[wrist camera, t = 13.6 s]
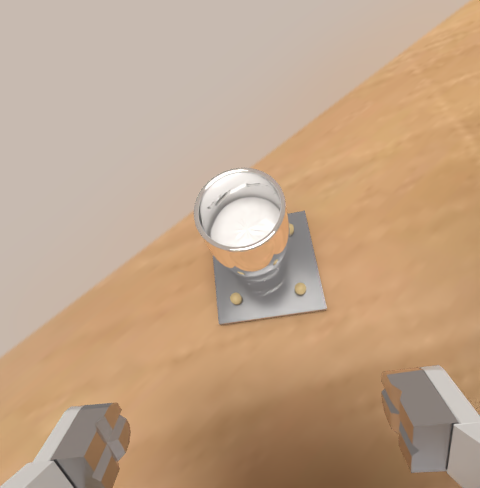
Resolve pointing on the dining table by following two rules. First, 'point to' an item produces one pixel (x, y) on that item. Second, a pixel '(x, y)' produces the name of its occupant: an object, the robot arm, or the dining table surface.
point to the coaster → (284, 294)
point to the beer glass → (245, 225)
